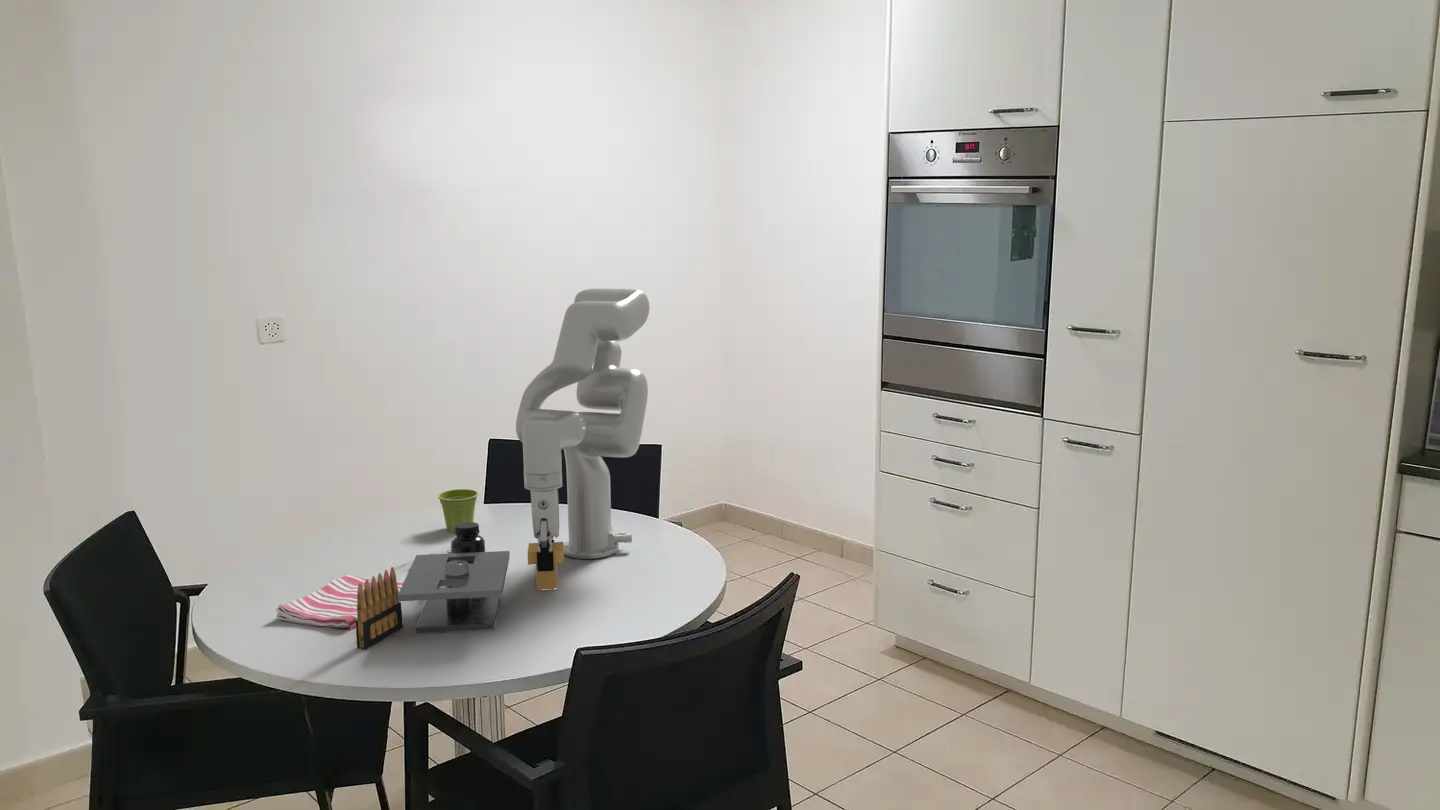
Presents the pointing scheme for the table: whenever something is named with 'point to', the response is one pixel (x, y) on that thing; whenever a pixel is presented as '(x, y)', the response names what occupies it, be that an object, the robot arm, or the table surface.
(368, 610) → the ammunition clip
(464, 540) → the supplement bottle
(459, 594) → the gray tiered stand
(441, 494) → the plant pot
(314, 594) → the dish towel
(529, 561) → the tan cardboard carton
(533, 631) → the table surface
